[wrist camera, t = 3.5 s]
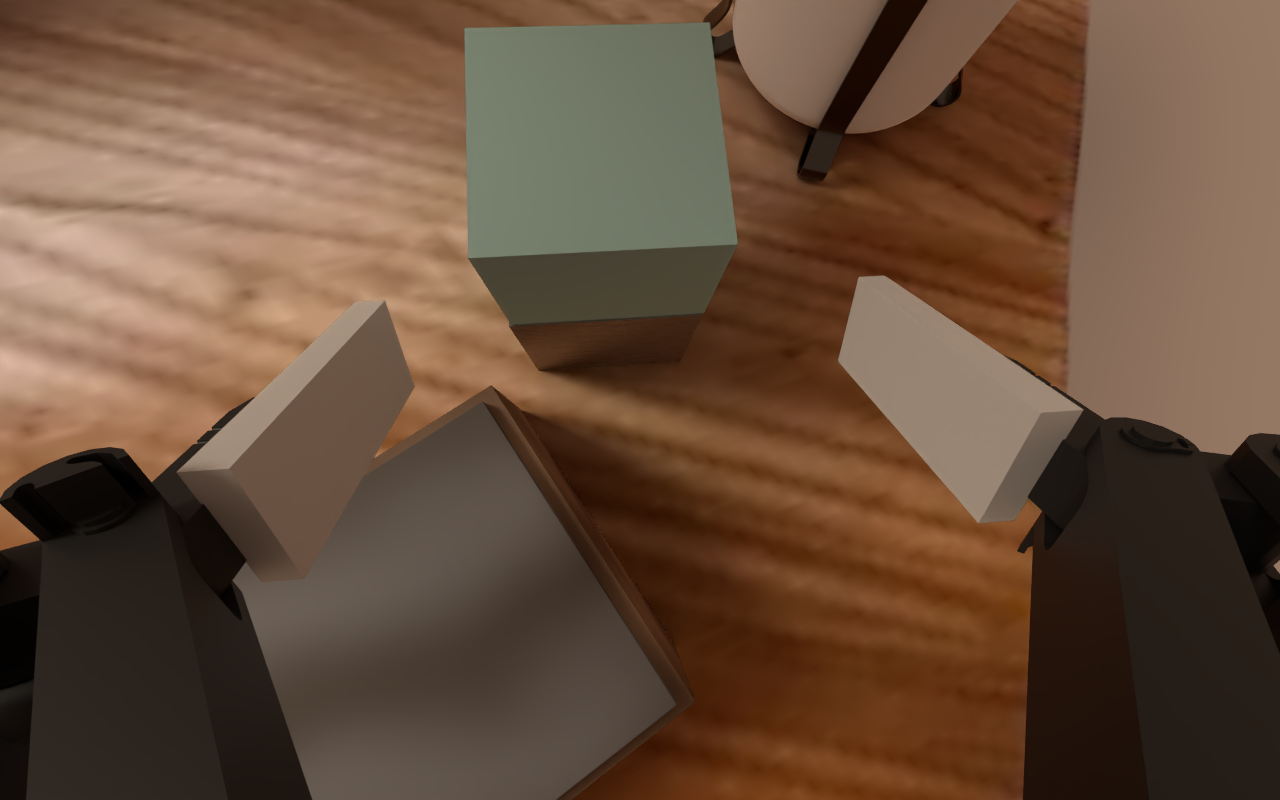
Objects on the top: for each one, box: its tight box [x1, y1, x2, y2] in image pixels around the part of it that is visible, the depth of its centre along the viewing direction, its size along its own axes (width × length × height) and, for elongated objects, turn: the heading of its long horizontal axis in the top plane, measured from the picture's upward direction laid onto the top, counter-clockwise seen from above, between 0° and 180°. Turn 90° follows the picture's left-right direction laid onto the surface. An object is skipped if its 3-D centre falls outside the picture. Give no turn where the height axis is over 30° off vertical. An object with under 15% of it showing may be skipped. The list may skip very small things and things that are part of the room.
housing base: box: [509, 313, 702, 371], centre depth 21 cm, size 7×7×6 cm
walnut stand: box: [233, 386, 695, 800], centre depth 18 cm, size 13×13×6 cm
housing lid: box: [465, 22, 738, 325], centre depth 16 cm, size 7×9×5 cm
